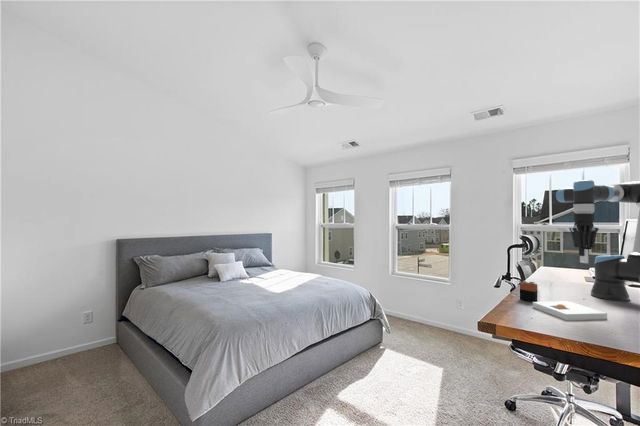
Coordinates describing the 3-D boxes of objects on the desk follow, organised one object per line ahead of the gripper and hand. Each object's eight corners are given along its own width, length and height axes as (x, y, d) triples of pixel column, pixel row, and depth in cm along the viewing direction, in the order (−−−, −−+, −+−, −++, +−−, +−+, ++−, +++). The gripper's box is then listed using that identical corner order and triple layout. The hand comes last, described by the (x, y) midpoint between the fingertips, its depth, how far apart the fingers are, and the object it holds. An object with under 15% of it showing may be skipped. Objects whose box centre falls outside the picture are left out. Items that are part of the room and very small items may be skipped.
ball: (556, 313, 137) (562, 308, 138) (563, 316, 133) (570, 311, 134) (551, 306, 137) (558, 301, 138) (559, 308, 133) (566, 303, 134)
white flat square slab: (568, 306, 146) (568, 301, 146) (607, 319, 128) (607, 313, 128) (532, 307, 144) (532, 302, 144) (566, 320, 126) (566, 314, 126)
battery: (534, 302, 152) (534, 283, 152) (519, 299, 157) (519, 280, 157) (537, 301, 154) (537, 282, 154) (522, 298, 160) (522, 279, 160)
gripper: (588, 213, 145) (588, 261, 144) (563, 213, 144) (564, 261, 143) (604, 213, 137) (605, 264, 137) (578, 212, 136) (578, 264, 136)
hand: (584, 262), depth 140 cm, fingers closed
